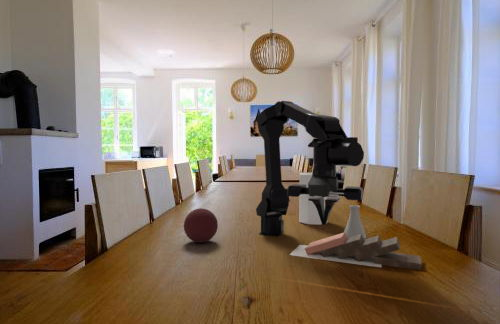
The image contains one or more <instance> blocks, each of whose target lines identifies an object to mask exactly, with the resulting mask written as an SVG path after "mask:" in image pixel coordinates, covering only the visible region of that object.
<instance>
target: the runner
mask: <svg viewBox="0 0 500 324" xmlns="http://www.w3.org/2000/svg"><path fill="white" fill-rule="evenodd" d="M307 246H308V245H306V244H299V245H298V246H297V247H296V248H295V249H294V250H293V251H291V253H290V254H289V256H293V257H294V256H295V257H299V258H300V257H301V258H308V259H314V260H315V259H316V260H324V261H331V262H337V263H344V264H345V263H346V264H352V265H361V266H367V267H374V268H382V266H383V265H381V264H375V263H374V257H371V258H368V259H364V260H360V261H357V259H356V256H355V255H353V256H349V257H346V258H342V259H340V258H339V255H338V253H335V254H331V255H328V256H324V257H323V255H322V253H321V251H318V252H315V253H311V254H308V255H307V253H306V251H305V248H306V247H307Z"/></svg>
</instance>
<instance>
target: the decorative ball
mask: <svg viewBox="0 0 500 324" xmlns="http://www.w3.org/2000/svg"><path fill="white" fill-rule="evenodd" d="M218 226H219V225H218V220H217V217H216V215H215V214H214V213H213V211H211V210H209V209H207V208H202V207H199V208H195V209H192V211H190V212H189V213H188V214H187V215H186V217H185V219H184V222H183V231H184V233H185V235H186V237H187V238H188V239H189V240H191V242H195V243H199V244H202V243H206V242H209V241H210V240H212V239H213V238H214V236H215V235H216V234H217V231H218V228H219V227H218Z"/></svg>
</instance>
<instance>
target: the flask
mask: <svg viewBox="0 0 500 324" xmlns="http://www.w3.org/2000/svg"><path fill="white" fill-rule="evenodd" d="M349 208H350V209H349V216H348V217H349V218H348V220H347V223H346V226H345V228H344V230H343V233H344V232H345V233H346V236H347V238H349V237H352V236H356V235H359V234H362V236H363V238H364V240H365V239H368V237H367V235H366V232H365V228H364V226H363V224H362V220H361V216H360V209H361V206H360V205H356V204H352V205H351V204H350V205H349Z"/></svg>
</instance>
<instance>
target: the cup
mask: <svg viewBox="0 0 500 324" xmlns="http://www.w3.org/2000/svg"><path fill="white" fill-rule="evenodd" d="M311 177H312V172H300V173H299V184H304V185H306V187H308V182H309V180H310V179H311ZM321 197H322V196H321ZM298 198H299V200H298V201H299V202H298V203H299V204H298V205H299V209H298V211H299V212H298V217H299V219H298V221H299V223H300V224H304V225H309V226H323V225H322V223H321V220H320V217H319V214H318V211H317V208H316V206H315V205H314V203H313V202H312V201H309V200H308V199H309V194H301V195H299V196H298ZM327 198H328V197H324V209H325V200H326V199H327ZM328 220H329V219H328ZM328 220H327V223H326V225H327V224H328Z"/></svg>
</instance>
